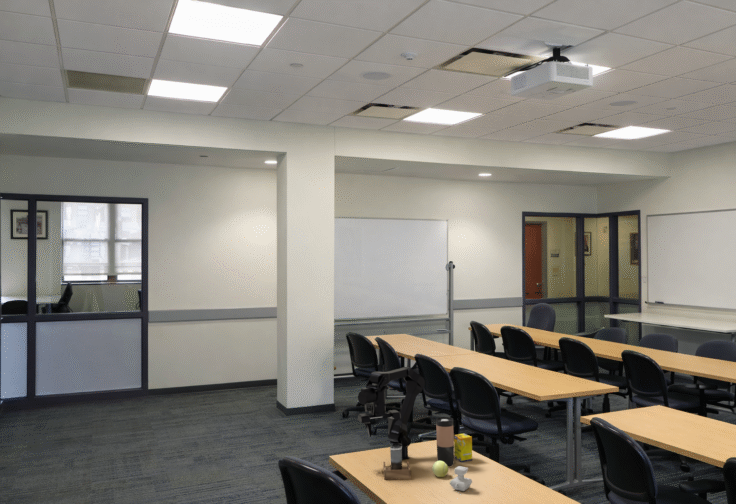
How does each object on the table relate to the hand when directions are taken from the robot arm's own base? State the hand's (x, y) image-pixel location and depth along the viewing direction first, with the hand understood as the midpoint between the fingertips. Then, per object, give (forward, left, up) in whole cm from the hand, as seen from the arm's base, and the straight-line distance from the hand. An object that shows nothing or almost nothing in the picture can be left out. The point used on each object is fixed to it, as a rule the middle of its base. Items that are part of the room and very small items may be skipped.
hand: (379, 435), depth 265 cm
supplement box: (-37, +9, -13) cm, 40 cm away
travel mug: (-27, +11, -13) cm, 32 cm away
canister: (-2, +14, -12) cm, 18 cm away
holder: (-2, +14, -13) cm, 19 cm away
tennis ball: (-18, +23, -13) cm, 32 cm away
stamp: (-19, +39, -13) cm, 45 cm away
